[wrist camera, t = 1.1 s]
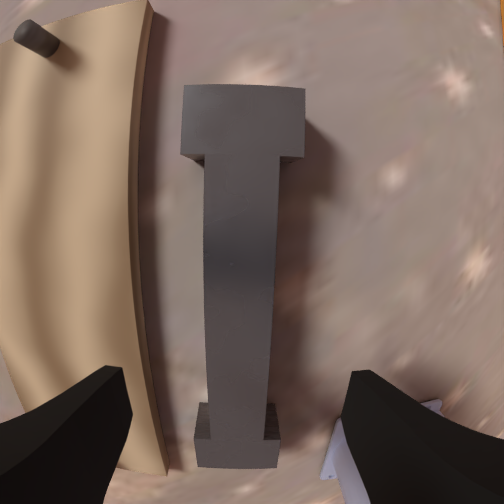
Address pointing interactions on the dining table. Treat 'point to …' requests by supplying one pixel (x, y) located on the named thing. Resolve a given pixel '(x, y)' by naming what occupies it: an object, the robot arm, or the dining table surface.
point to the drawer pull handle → (240, 258)
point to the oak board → (76, 213)
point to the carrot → (503, 14)
